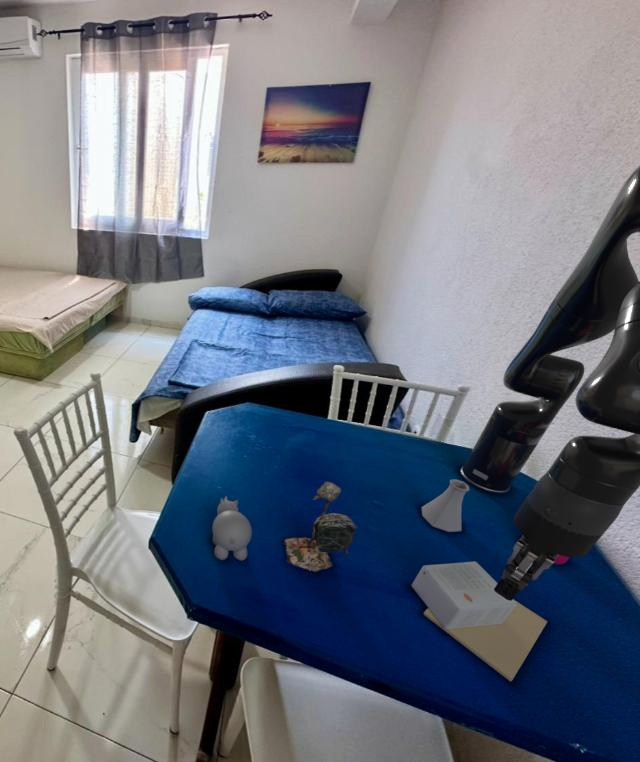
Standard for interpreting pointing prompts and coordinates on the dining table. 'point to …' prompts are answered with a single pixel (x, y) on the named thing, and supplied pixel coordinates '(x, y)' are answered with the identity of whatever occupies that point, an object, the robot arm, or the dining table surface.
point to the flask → (447, 507)
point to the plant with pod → (322, 536)
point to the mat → (500, 639)
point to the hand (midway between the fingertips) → (503, 593)
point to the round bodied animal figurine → (230, 531)
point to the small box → (461, 595)
